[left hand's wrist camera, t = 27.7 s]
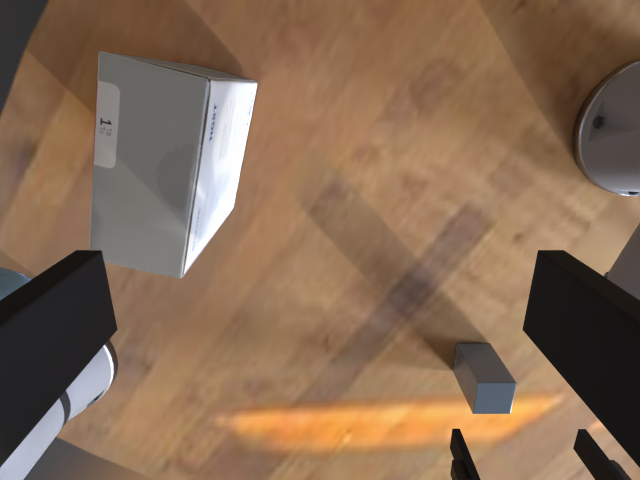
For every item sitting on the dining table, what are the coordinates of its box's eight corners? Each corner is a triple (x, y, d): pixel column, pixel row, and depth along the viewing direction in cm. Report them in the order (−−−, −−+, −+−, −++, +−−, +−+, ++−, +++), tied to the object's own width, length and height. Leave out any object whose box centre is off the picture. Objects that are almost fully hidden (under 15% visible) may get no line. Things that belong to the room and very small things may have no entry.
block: (490, 343, 58) (516, 382, 50) (485, 371, 59) (510, 414, 51) (456, 343, 58) (477, 382, 50) (452, 371, 59) (472, 414, 51)
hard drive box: (190, 62, 45) (97, 42, 26) (258, 80, 46) (216, 74, 27) (172, 196, 50) (85, 260, 31) (234, 211, 51) (184, 282, 32)
